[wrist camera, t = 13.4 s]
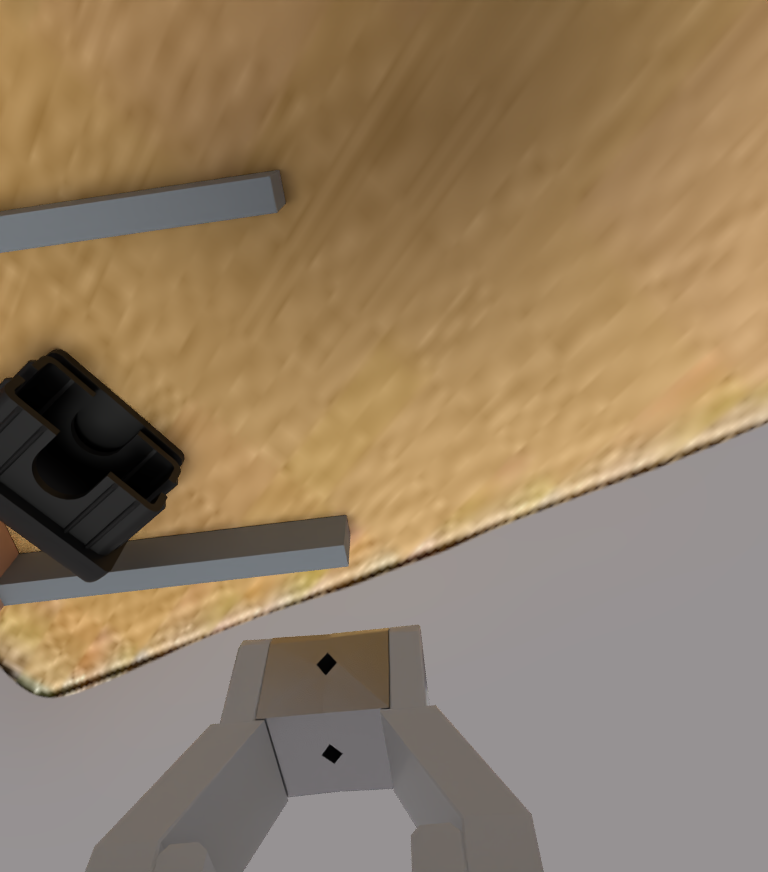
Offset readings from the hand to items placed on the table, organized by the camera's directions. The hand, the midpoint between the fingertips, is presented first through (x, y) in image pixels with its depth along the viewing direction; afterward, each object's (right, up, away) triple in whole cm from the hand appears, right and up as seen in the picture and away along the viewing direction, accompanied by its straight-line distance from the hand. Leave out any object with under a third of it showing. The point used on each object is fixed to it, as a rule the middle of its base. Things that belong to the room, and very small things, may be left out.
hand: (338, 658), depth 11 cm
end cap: (-16, +4, +26) cm, 31 cm away
